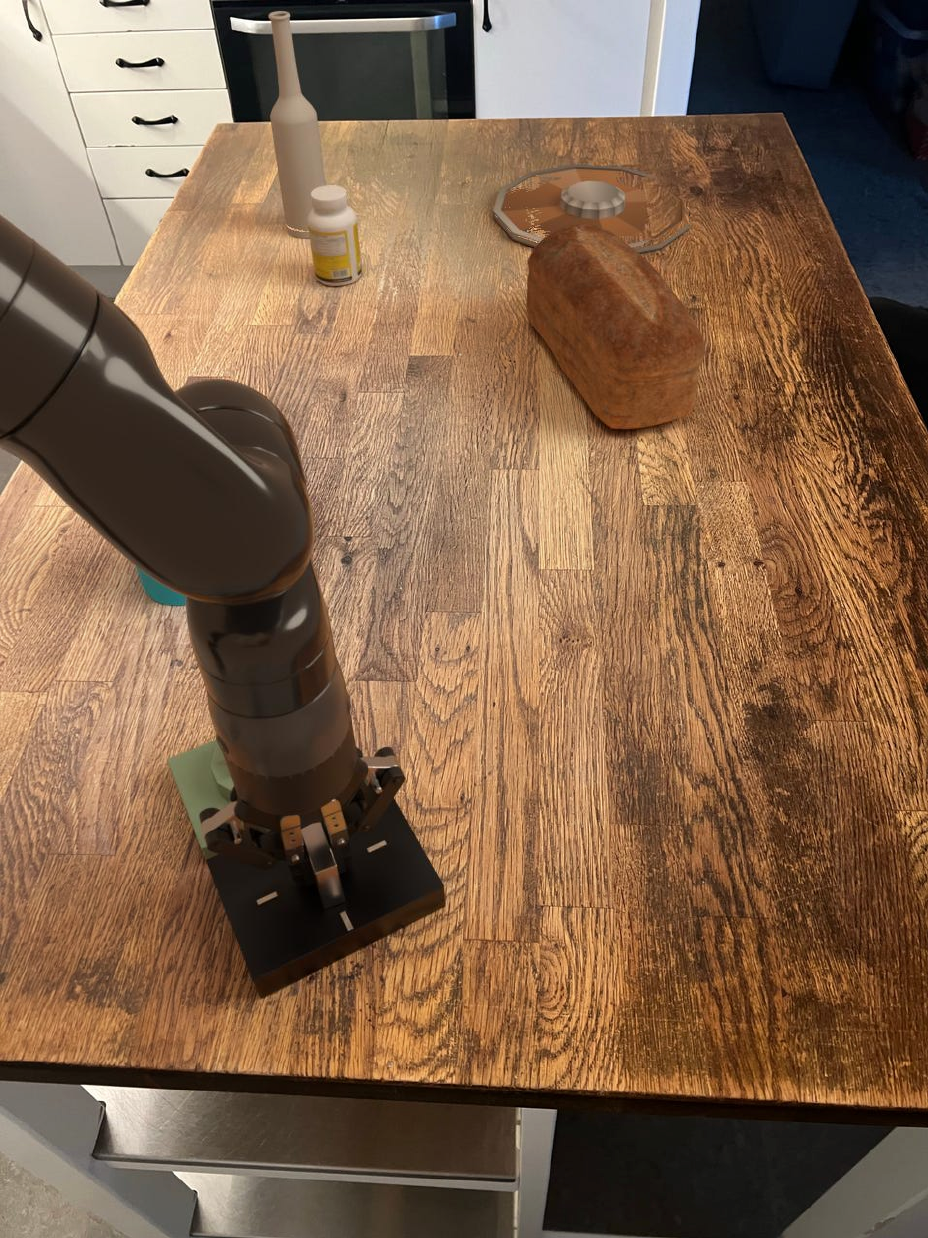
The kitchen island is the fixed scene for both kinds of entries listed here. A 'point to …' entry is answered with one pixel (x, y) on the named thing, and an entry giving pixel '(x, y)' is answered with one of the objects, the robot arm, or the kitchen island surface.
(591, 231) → the bread
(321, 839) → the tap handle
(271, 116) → the bottle
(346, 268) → the pill bottle
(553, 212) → the shield
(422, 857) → the base
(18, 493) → the kitchen island surface
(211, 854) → the block
